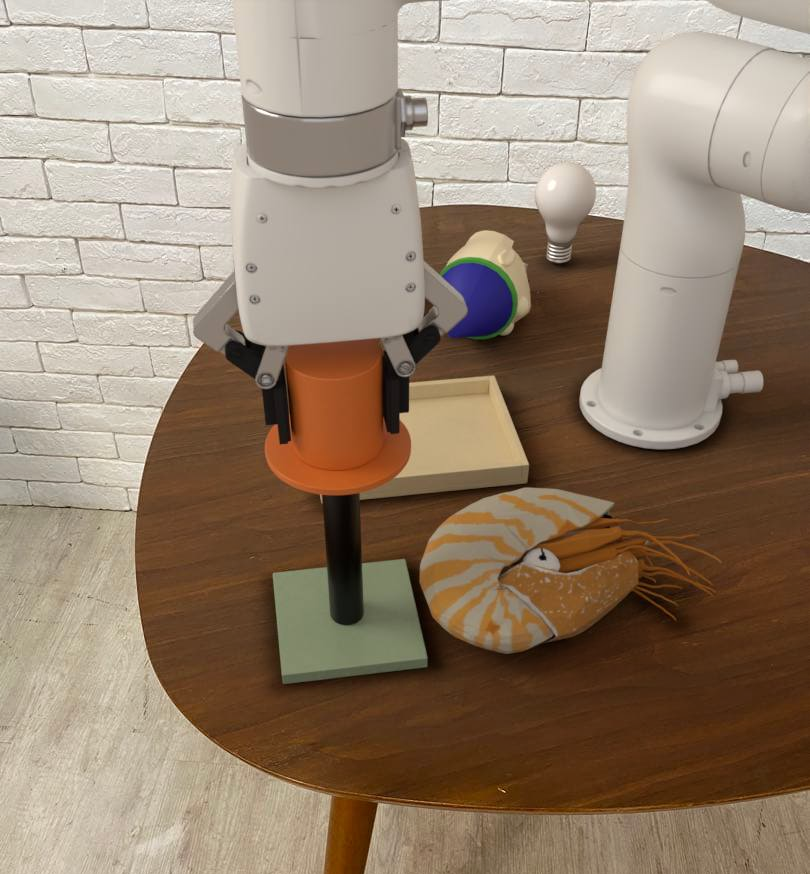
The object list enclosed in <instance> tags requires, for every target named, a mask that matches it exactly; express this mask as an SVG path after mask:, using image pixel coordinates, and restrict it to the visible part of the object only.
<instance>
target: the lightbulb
mask: <svg viewBox="0 0 810 874" xmlns="http://www.w3.org/2000/svg"><path fill="white" fill-rule="evenodd" d="M596 198H597V186H596V182H595V180H594V177H593V175H592V174H591V172H589V170H588V169H587V168H585V167H584V166H583V165H581V164H579V163H576V162H572V161H564V162H558V163H555V164H552V165H550V167H548V168H547V169H546V170H544V171H543V173H542V174H541V175H540V176H539V179H538V180H537V182H536V185H535V190H534V201H535V206H536V209H537V211H538V213H539V214H540V216H541V218H542V219H543V223H544V226H545V232H546V235H547V246H546V247H547V248H546V254H545V257H546V259H547V260H548V261H549V262H551V263H553V264H555V265H562V264H565V263H568V262H569V261H570V260H571V258H572V250H573V249H572V248H573V243H574V238H575V237H576V235H577V233H578V229H579V227H580V225H581V223H583V222H584V220H585V219H586V218H587V217H588V216H589V214H590V213H591V211H592V210H593V208H594V206H595V203H596Z"/></svg>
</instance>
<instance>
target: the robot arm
mask: <svg viewBox="0 0 810 874" xmlns="http://www.w3.org/2000/svg"><path fill="white" fill-rule="evenodd" d="M444 1H449V0H231V6H232V13H233V15H232V16H233V24H234V32H235V34H234V35H235V42H236V52H237V53H236V54H237V62H238V72H239V81H240V91H241V93H240V94H241V103H242V104H241V105H242V114H243V122H244V124H243V125H244V133H245V143H242V144H241V145H239V146H238V147H237V148H236V149H234V151H233V154H232V162H231V169H230V170H231V173H230V194H229V202H230V203H229V207H230V208H229V210H230V212H229V213H230V231H231V247H232V261H233V262H232V264H233V271H232V272H231V274H230V275H229V276H228V277H227V278H226V279H225V281H224V282H223V283H222V284H221V285H220V286H219V288H218V289H217V290H216V291H215V292H214V293H213V295H211V297H210V298H209V299H208V300H207V301H206V303H204V305H203V306H202V307H201V308H200V309H199V311H198V312H197V313H196V314H195V315H194V317H193V318H192V328H193V329H192V334H193V336H194V337H195V338H196V339H197V340H199V341H200V342H201V343H203V344H204V345H206V346H208V347H209V348H210V349H212V350H214V351H215V352H217V353H221V354H222V355H223V356H225V358H226V360H227V361H228V362H229V363H230V364H232V365H234V366H235V367H237V368H238V369H240V370H241V371H242V372H243V373H245V374H247V375H248V376H249V377H251V378H252V379H253V380H255V384H256V386H257V387H259V388H260V389H261V393H262V402H263V413H264V423H265V426H274V425H275V424H277V425H278V434H279V443H280V444H288V441H291V432H290V421H289V413H290V411H289V400H288V389H287V379H286V371H285V365H284V364H285V357H286V354H287V351H288V348H289V346H291V345H305V344H318V343H331V342H343V341H354V340H366V339H376V340H377V339H379V340H380V342H381V344H382V346H383V348H384V350H382V364H383V417H384V421H385V425H386V429H387V432H390V433H391V434H399V432H400V413H408V412H409V383H410V377H411V376H412V375H414V374H415V372H416V369H417V364H419V362H420V361H421V360H422V359H424V358H425V357H426V356H427V355H428V354H429V353H430V352H431V351H432V350H434V348H435V347H436V346H437V345H438V344H439V343H440V342H441V339H442V337H443V336H444V335H445V334H448V332H449V331H450V330H451V329H452V328H453V327H455V326H456V325H457V324H458V323H459V322H460V321H461V320H462V319H463V318H465V316H466V315H467V313H468V308H467V305H466V303H465V300H464V298H463V296H462V295H461V294H460V293H459V292H458V291H457V290H455V289H454V288H453V287H452V286H451V285H450V284H449V283H448V282H447V281H446V280H445V279H443V278H442V277H441V276H440V275H439V274H440V273H438V272H437V271H436V270H435V269H434V268H433V267H432V266H430V264H428V263H427V261H425V260H424V248H423V247H424V246H423V231H422V219H421V217H422V216H421V212H420V211H421V210H420V205H419V204H420V203H419V194H418V186H417V185H418V184H417V180H416V171H415V165H414V162H413V156H412V151H411V147H410V144H409V143H408V141H407V140H406V139H404V138H405V137H406V131H413V129H414V128H421V127H427V126H428V124H429V107H428V101H427V98H426V97H414V98H413V97H412V96H411V95H404V93H403V90H402V89H399V30H398V29H399V25H398V24H399V17H398V16H399V12H400V10H401V9H402V8H403V7H404V6H405V5H409V4H414V3H426V2H427V3H428V2H444ZM706 2H707V3H709V4H711V6H713V7H715V8H717V9H719V10H721V11H724V12H726V13H729V14H732V15H735V16H738V17H741V18H744V19H748V20H751V21H756V22H760V23H764V24H767V25H771V26H775V27H779V28H784V29H787V30H790V31H795V32H799V33H803V34H805V35H806V34H807V35H810V0H706ZM626 108H627V109H626V137H627V138H626V139H627V142H626V143H627V158H628V159H627V160H628V161H627V162H628V163H627V164H628V173H627V175H628V178H627V179H628V180H627V192H626V203H625V210H624V211H625V212H624V218H623V225H622V233H621V238H620V246H619V251H618V258H617V263H616V264H617V265H616V269H615V270H616V272H615V278H614V284H613V291H612V292H613V293H612V297H611V305H610V310H609V317H608V323H607V330H606V331H607V332H606V338H605V344H604V350H603V357H602V363H601V367H600V368H599V369H596V370H595V371H594V372H592V373H590V374H589V376H587V377H586V379H585V380H584V381H583V383H582V385H581V388H580V394H579V399H578V400H579V408H580V411H581V413H582V415H583V417H584V419H585V420H586V421H587V422H588V423H589V425H591V426H592V427H593V428H594V429H595V430H596V431H597V432H599V433H601V434H602V435H604V436H606V437H607V438H610V439H612V440H614V441H617V442H618V443H622V444H624V445H627V446H631V447H635V448H641V449H647V450H648V449H649V450H660V451H661V450H674V449H675V450H676V449H681V448H686V447H689V446H693V445H696V444H699V443H700V442H702V441H704V440H706V439H708V438H709V437H710V436H711V435H713V434H714V433H715V432H716V430H717V428H718V427H719V425H720V423H721V418H722V415H723V407H724V406H723V403H722V402H723V401H722V400H723V399H724V400H725V399H727V398H728V397H729V396H730V395H732V394H739V395H741V394H751V393H760V392H761V391H762V390H763V387H764V376H763V374H762V371H760V370H747V371H739V363H738V361H737V360H736V359H725V360H720V361H717V358H718V355H719V349H720V345H721V341H722V337H723V334H724V330H725V329H724V328H725V325H726V320H727V316H728V312H729V309H730V304H731V301H732V300H731V299H732V296H733V295H732V294H733V291H734V287H735V283H736V278H737V274H738V271H739V266H740V262H741V258H742V254H743V250H744V246H745V238H746V215H745V213H746V212H745V208H744V203H743V198H742V196H745V197H747V198H751V199H753V200H756V201H759V202H762V203H764V204H768V205H771V206H774V207H776V208H780V209H783V210H787V211H789V212H793V213H800V214H810V58H808V57H805V56H800V55H796V54H793V53H788V52H785V51H781V50H778V49H777V48H775V47H770V46H766V45H763V44H759V43H755V42H751V41H748V40H744V39H740V38H735V37H732V36H728V35H725V34H718V33H714V32H713V33H712V32H703V31H702V32H701V31H690V32H689V31H688V32H682V33H678V34H675V35H673V36H670V37H667V38H665V39H664V40H661V41H659V43H657V44H656V45H654V47H652V48H651V49H650V51H648V52H647V53H646V54H645V56H644V58H642V60H641V62H640V63H639V65H638V67H637V69H636V71H635V72H634V75H633V78H632V80H631V84H630V88H629V91H628V98H627V105H626ZM426 301H428V302H429V303H430V304H431V305H432V306H431V308H430V309H429V310H428V312H427V314H425V308H426V307H425V304H426V303H425V302H426ZM237 313H238V314H239V319H240V325H241V328H242V331H240V330H238V329H234V328H232V326H231V325H229V324H228V323H229V322H230V321H231V320H232V319H233V317H234V316H235V315H236V314H237Z"/></svg>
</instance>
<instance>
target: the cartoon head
mask: <svg viewBox="0 0 810 874" xmlns="http://www.w3.org/2000/svg"><path fill="white" fill-rule="evenodd" d="M514 243H515V240H513V239H511V238H510V237H509V236H507V235H506V234H505V233H504V234H503V233H501V232H499V231H498V232H497V231H495V230H485V229H484V230H480V231H477V232H474V233H473V234H472V235H471V236H470V237H469V239H468V240H467V242H466V243H465V245H464V246H462V247H461V248H460V249H459V250H457V251H456V252H455V253H454V254H453V255H452V256H451V257H450V259H448V261H447V262H446V263H447V264H446V265H445V267H444V268H442V269H441V271H440V273H438V274H439V275H440V276H441V277H442V278H443V279H445V280H446V281H447V282H448V283H449V284H450V285H451V286H452V287H453V288H454V289H455V290H457V291H458V292H459V293H460V294H461V295H462V296H463V298H464V300H465V303H466V305H467V308H468V313H467V315H466V316H465V318H463V319H462V320H461V321H460V322H459V323H458V324H457V325H456V326H455V327H453V328H452V329H451V330H450V331H449V332H448V333H447V334H448V336H449V339H460V338H468V339H472V340H487V339H492V338H495V337H497V336H498V335H499V336H502V337H504V336H508V335H510V334H511V333H512V331H513V330H514V328H515V323H517V322H518V321H520V320H521V319H522V318H524V317H525V316H527V315H528V314H529V313H530V311H531V308H532V302H531V288H530V279H528V274H527V268H528V266H529V264H527V263H526V262H524V261H523V260H522V258H521V256H520V255H519V253H517V252H516V251H515V250H514V248H513V246H514Z"/></svg>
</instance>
